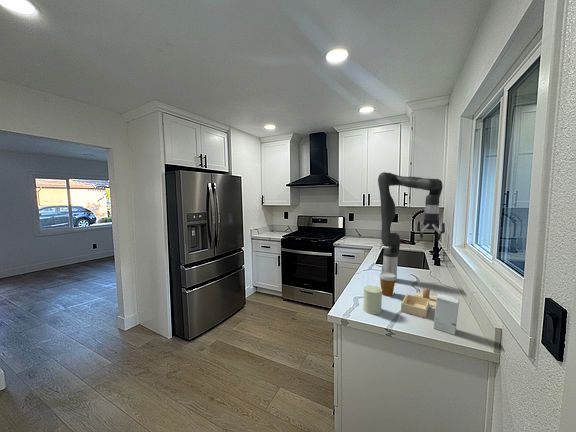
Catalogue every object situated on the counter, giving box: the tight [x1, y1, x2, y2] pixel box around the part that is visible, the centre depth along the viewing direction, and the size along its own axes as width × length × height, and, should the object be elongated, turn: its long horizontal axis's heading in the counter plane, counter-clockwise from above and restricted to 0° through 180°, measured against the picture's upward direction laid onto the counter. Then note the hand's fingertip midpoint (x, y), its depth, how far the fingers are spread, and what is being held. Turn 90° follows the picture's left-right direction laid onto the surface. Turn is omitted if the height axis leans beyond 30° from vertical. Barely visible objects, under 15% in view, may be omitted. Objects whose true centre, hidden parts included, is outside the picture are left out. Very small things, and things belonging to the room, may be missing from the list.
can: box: [362, 285, 383, 315], centre depth 124 cm, size 9×9×12 cm
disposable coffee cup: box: [379, 272, 396, 297], centre depth 143 cm, size 10×10×12 cm
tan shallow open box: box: [400, 293, 430, 319], centre depth 125 cm, size 11×14×4 cm
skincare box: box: [433, 293, 460, 336], centre depth 106 cm, size 8×6×15 cm
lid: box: [414, 287, 438, 308], centre depth 136 cm, size 11×14×7 cm
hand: (430, 239), depth 143 cm, fingers open, 8 cm apart
